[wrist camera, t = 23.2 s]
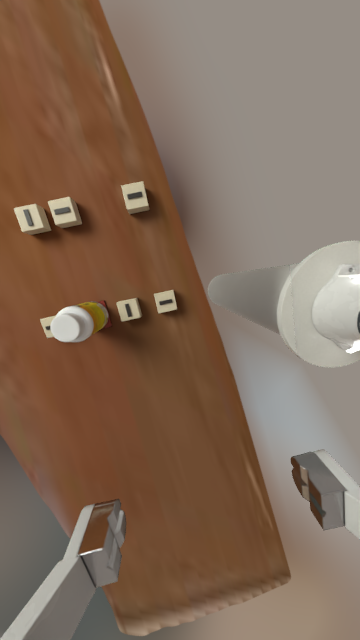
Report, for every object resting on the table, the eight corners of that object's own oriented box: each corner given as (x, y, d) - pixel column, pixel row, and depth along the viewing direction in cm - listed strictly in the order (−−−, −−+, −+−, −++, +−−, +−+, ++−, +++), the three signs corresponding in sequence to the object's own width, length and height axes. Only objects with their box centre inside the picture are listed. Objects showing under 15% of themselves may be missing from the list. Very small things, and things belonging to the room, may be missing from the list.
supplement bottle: (99, 295, 34) (71, 301, 24) (114, 321, 36) (93, 336, 26) (73, 309, 35) (35, 320, 25) (89, 334, 36) (59, 354, 26)
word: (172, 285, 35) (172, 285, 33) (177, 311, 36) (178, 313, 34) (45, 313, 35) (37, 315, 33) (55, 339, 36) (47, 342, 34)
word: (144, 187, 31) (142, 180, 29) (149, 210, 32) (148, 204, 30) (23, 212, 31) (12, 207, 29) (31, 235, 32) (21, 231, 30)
